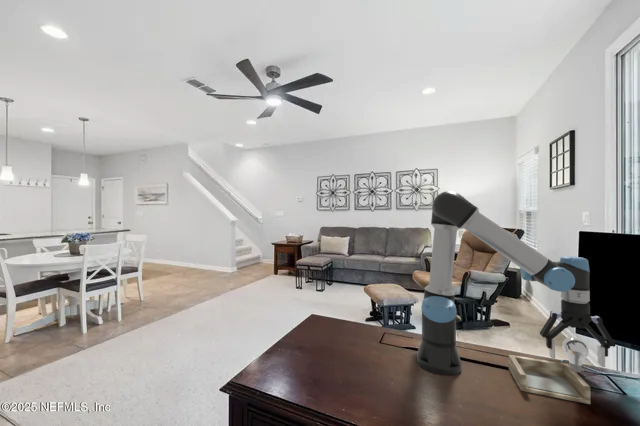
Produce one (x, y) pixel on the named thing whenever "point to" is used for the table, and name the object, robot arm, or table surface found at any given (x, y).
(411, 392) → the table surface
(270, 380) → the table surface
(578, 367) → the light bulb
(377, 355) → the table surface
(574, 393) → the shallow wooden tray
